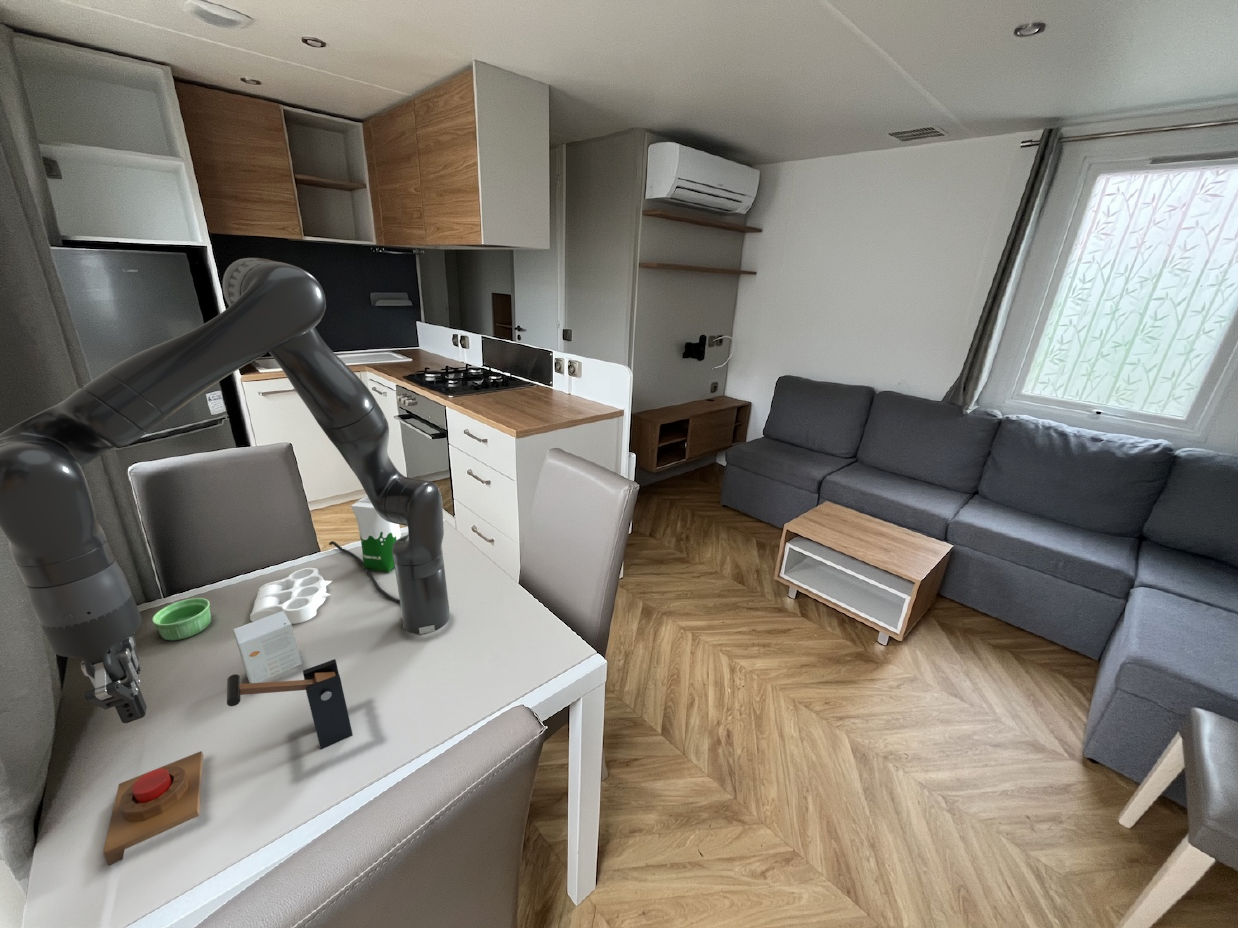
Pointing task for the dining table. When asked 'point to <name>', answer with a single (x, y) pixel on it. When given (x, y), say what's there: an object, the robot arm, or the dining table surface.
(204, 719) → the dining table surface
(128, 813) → the button block
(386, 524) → the milk carton
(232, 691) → the lever
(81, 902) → the dining table surface
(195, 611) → the ramekin
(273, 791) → the dining table surface
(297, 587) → the white brass knuckles
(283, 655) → the small box
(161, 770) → the button
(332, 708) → the bracket
